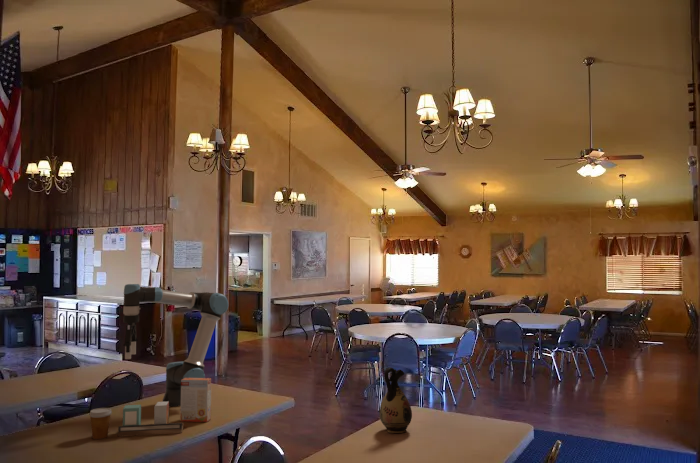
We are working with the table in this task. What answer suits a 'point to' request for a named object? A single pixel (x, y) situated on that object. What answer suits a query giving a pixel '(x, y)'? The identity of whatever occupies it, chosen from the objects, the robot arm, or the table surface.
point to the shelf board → (150, 429)
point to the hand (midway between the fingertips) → (130, 356)
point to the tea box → (131, 415)
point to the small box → (161, 413)
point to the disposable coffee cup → (100, 422)
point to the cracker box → (195, 399)
